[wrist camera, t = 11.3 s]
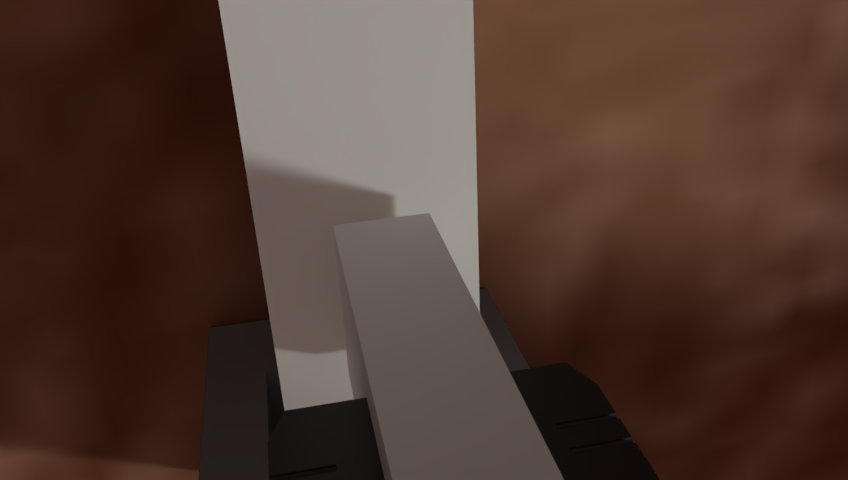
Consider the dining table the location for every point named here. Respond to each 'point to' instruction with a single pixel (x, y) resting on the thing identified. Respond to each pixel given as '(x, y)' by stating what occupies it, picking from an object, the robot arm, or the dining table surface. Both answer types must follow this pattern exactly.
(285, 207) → the light grey long block
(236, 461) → the endcap rack
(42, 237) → the dining table surface
